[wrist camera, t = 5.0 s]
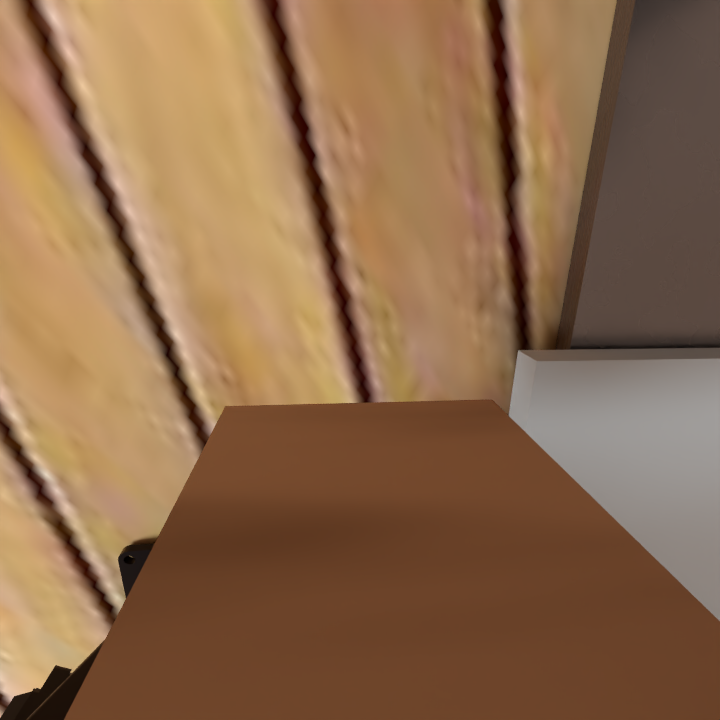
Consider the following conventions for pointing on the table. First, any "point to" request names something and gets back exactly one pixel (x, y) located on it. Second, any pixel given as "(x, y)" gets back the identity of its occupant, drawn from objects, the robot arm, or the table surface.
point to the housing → (397, 583)
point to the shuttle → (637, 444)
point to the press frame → (651, 187)
